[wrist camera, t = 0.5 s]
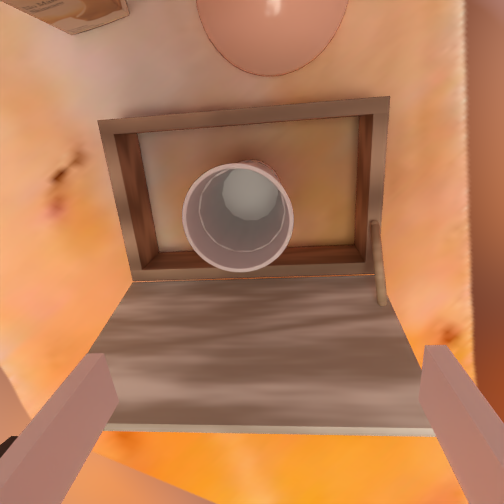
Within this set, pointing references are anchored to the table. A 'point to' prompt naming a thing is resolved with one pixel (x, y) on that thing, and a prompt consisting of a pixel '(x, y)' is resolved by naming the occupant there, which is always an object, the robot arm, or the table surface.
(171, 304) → the hinged wooden box
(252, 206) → the cup
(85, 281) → the table surface
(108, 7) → the skincare box
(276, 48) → the saucer
